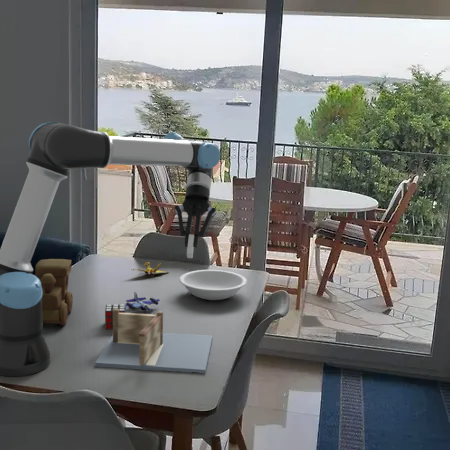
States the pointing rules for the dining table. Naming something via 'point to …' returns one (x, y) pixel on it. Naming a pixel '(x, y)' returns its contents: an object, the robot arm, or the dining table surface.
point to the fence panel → (149, 339)
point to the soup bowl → (213, 283)
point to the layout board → (161, 354)
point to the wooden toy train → (55, 289)
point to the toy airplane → (141, 303)
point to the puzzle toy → (110, 314)
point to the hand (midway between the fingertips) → (189, 255)
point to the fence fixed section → (132, 326)
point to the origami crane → (150, 269)
